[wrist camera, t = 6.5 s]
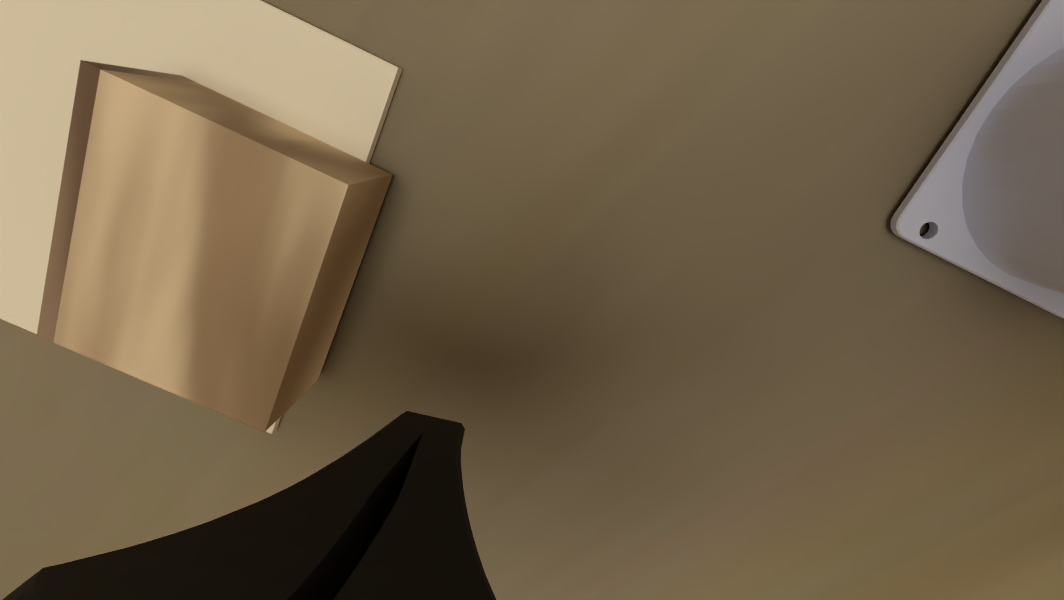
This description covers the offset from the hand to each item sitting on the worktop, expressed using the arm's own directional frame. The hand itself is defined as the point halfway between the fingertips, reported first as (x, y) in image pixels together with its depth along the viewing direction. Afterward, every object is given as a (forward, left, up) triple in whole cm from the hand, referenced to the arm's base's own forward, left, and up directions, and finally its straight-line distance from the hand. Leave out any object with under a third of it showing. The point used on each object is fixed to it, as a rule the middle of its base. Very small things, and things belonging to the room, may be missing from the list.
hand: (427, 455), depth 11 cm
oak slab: (+5, 0, -5) cm, 7 cm away
